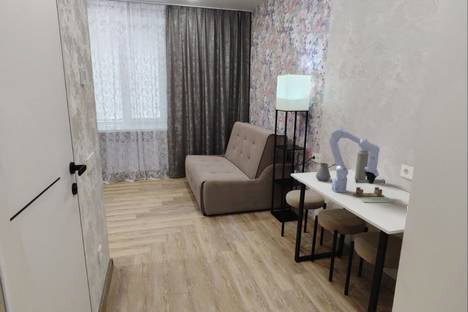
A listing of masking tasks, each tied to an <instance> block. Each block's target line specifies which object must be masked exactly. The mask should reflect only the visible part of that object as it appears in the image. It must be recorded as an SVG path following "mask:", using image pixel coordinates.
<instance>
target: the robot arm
mask: <svg viewBox="0 0 468 312" xmlns="http://www.w3.org/2000/svg"><path fill="white" fill-rule="evenodd" d="M341 139H349V140H350V141H352V142H353V143H356V144H357V145H358V147H360V148H363V149H365V150H366V151H368V153H369V157H368V164H367V167H365V170H367V172H365V174H366V179H369V183H368V184H370V185H373V184H374V183H373V182H374V180H375V179H377V177H379V175H380V173H379V170H378V162H379V153H380V151H381V150H380V149H381V148H380V146H378V144H375V143H372V142H370V141H369V140H368V139H367V138H366V139H365V138H362V139H361V138H359V137H357V136H356V135H354V134H353V133H351V132H349V130H346V129H344V128H342V127H341V128H340V127H338V128H337V129H334V130H333V131H332V132H331V134H330V139H329V145H330V149H331V153H332V156H333V160H334V164H336V165H335V167H336V168H335V171H336V177H335V178H332V179H331V180H332V181H331V187H330V189H331V190H332V191H333V192H334V193H349V191H348V190H347V187H348V186H347V185H348V175H349V170H348V168H346V165H345V163H343V162H344V161H343V157H342V153H341V150H340V148H339V141H340V140H341Z"/></svg>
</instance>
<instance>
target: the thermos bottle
mask: <svg viewBox="0 0 468 312" xmlns="http://www.w3.org/2000/svg"><path fill="white" fill-rule="evenodd" d="M369 154H370V153H369V151H366V150H365V149H363V148H361V147H360V148H359V150H358V152H357V157H356V165H355V173H354V180H355V181H356V179H367V177H366V174H365V172H367V170H365V167H367V166H368V159H369Z"/></svg>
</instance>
